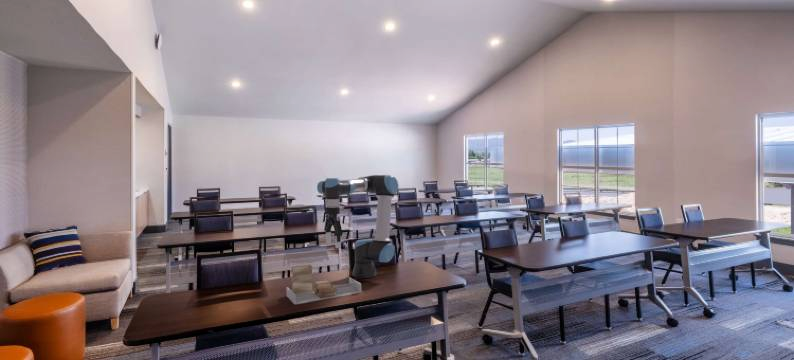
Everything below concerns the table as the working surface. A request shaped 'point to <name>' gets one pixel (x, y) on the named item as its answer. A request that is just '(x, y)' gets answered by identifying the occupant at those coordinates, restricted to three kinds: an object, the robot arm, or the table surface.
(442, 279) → the table surface
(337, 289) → the rack
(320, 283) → the offcut top
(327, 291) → the offcut middle
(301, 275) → the tan wooden block
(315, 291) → the offcut bottom
